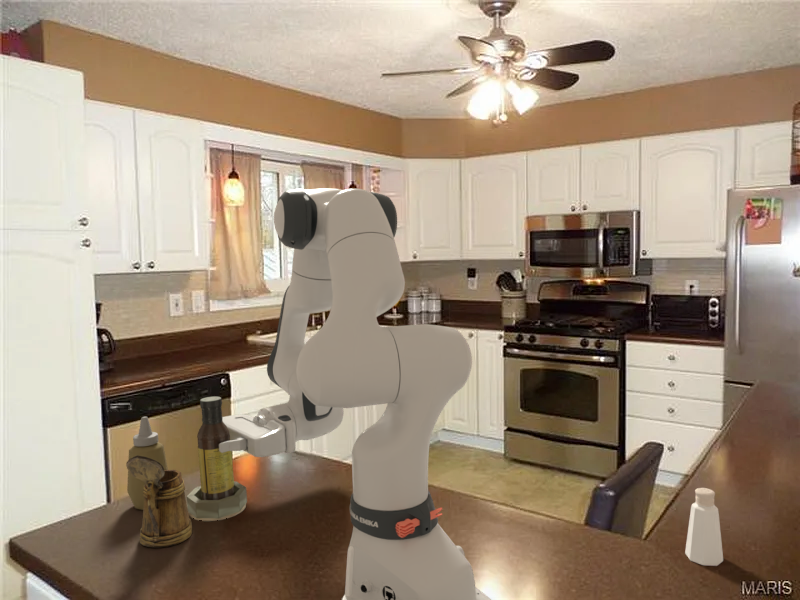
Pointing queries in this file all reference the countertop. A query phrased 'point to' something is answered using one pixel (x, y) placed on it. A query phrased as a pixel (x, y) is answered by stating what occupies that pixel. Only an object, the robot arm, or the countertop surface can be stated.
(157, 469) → the wooden mug
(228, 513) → the grey faceted bowl
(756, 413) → the countertop surface
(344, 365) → the robot arm
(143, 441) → the squeeze bottle
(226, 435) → the sauce bottle
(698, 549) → the salt shaker
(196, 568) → the countertop surface
